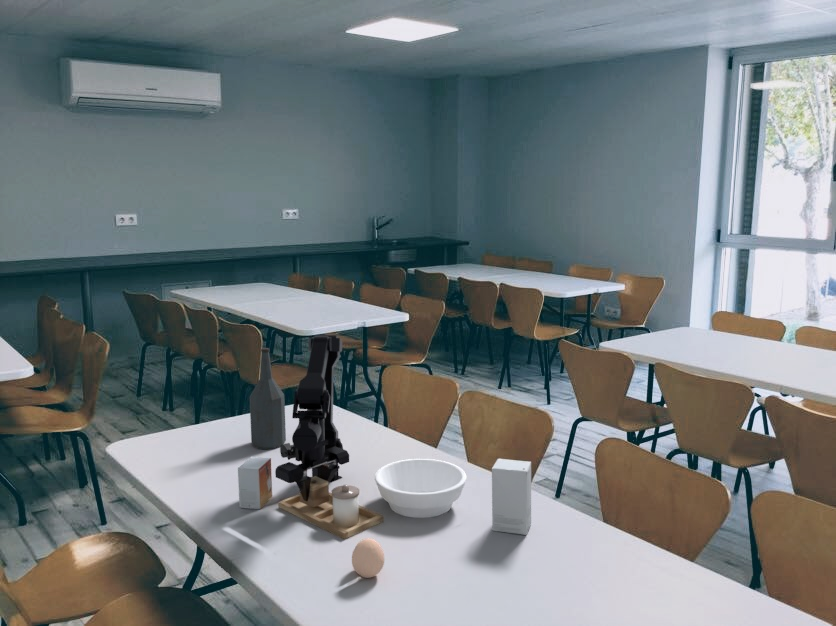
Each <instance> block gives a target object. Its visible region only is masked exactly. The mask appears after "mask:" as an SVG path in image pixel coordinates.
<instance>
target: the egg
mask: <svg viewBox="0 0 836 626" xmlns="http://www.w3.org/2000/svg"><path fill="white" fill-rule="evenodd" d="M385 560H386V559H385V552H384V550H383V547H382V546H381V545H380V543H379V542H378V541H376V540H375V539H374V538H369V537H367V538H364V539H362V540H360V541H359V542H358V543H357V544H356V545H355V547H354V549H353V550H352V555H351V564H352V567H353V570H354V571H355V572H356V573H357V574H358V575H359V576H361V577H362V578H365V579H366V578H368V579H370V578H374V577H376V576H377V575H378V574H380V572H381V571H382V570H383V567H384V565H385Z"/></svg>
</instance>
